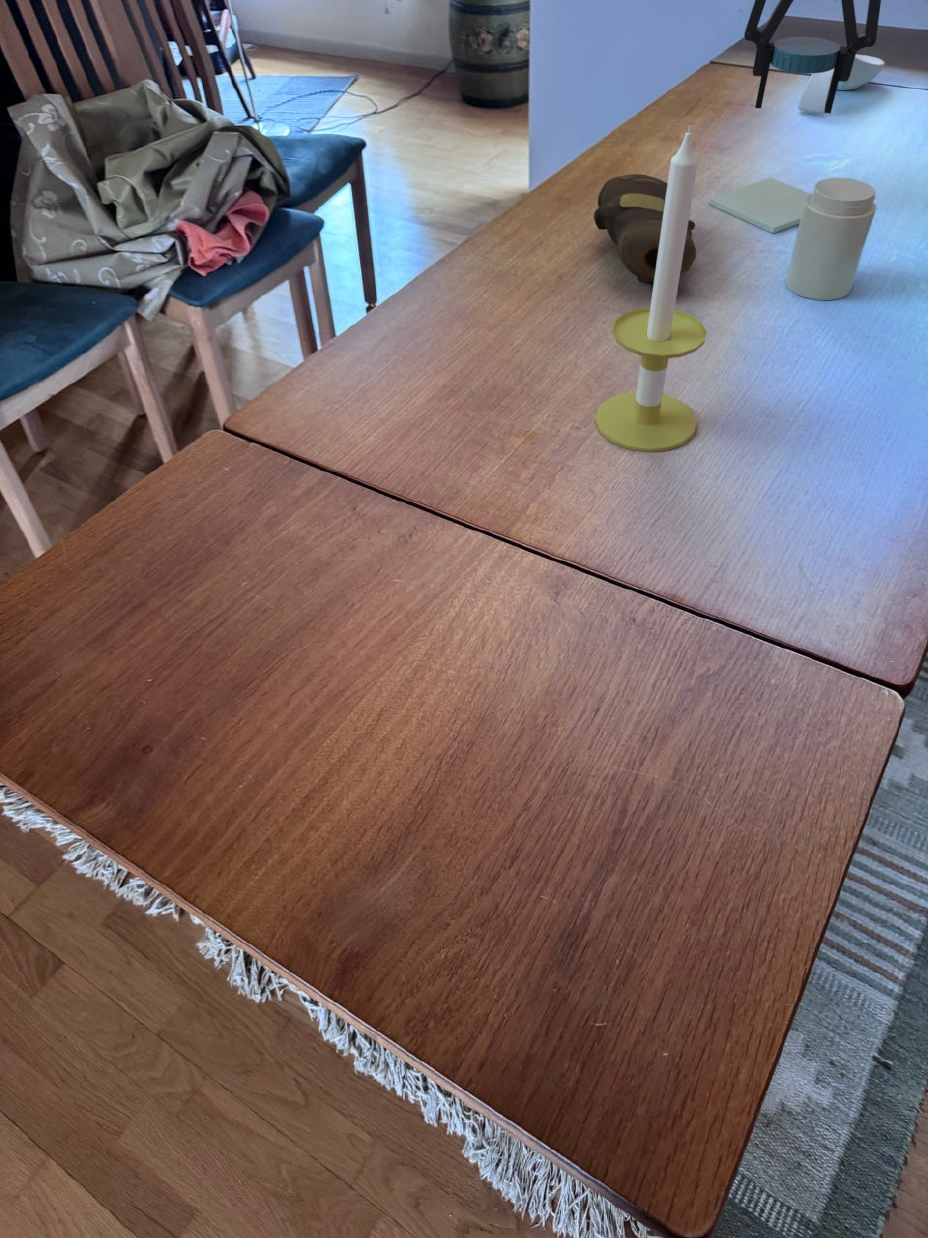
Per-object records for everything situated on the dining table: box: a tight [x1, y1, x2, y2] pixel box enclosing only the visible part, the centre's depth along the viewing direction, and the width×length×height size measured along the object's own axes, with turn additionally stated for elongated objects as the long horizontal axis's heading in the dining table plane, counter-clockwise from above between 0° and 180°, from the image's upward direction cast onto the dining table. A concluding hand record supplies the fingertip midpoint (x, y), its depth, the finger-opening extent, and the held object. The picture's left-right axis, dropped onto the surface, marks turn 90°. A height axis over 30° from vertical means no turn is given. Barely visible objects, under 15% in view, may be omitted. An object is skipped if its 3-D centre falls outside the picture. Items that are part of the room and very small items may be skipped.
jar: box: [784, 177, 877, 301], centre depth 101 cm, size 8×8×11 cm
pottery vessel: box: [593, 173, 697, 283], centre depth 107 cm, size 12×21×8 cm, turn 177°
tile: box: [707, 176, 812, 234], centre depth 120 cm, size 12×12×1 cm
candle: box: [594, 124, 707, 453], centre depth 77 cm, size 10×10×27 cm
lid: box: [770, 36, 841, 74], centre depth 107 cm, size 8×8×2 cm
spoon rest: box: [797, 53, 886, 115], centre depth 148 cm, size 24×12×7 cm, turn 148°
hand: (793, 106), depth 111 cm, fingers closed on lid, 8 cm apart
